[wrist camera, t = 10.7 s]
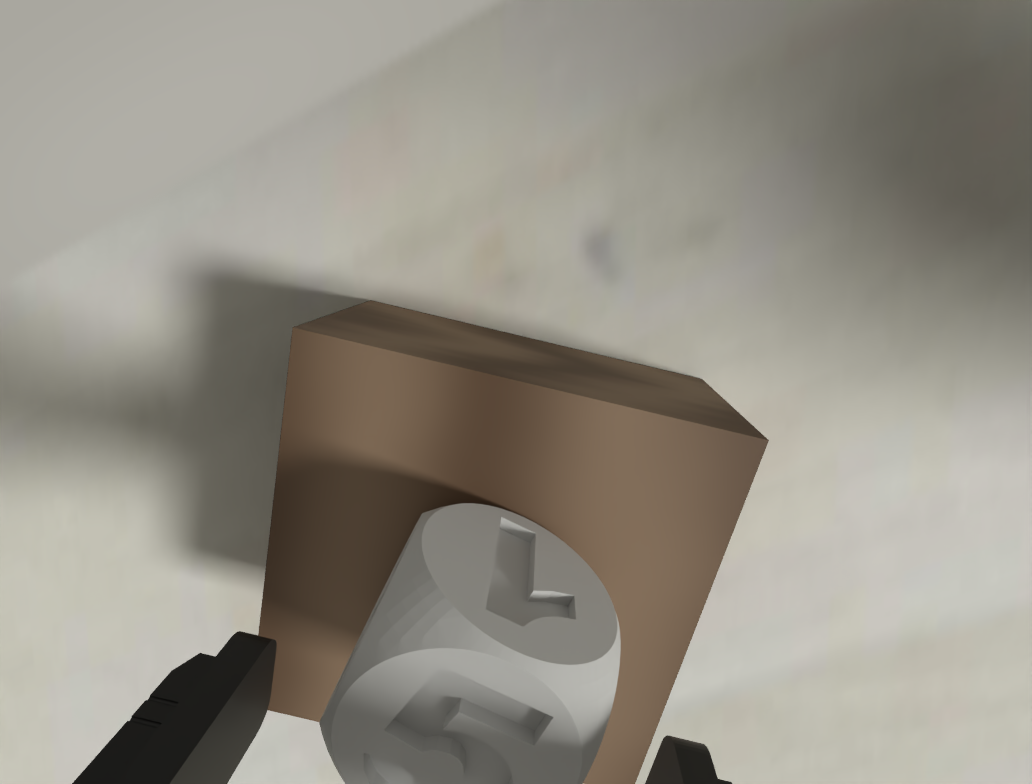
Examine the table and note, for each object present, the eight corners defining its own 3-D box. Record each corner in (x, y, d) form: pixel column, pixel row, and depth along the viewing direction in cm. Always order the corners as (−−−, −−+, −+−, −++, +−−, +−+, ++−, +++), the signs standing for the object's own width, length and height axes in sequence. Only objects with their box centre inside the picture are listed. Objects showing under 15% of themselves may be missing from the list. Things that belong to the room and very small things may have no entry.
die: (610, 556, 14) (640, 714, 10) (524, 687, 16) (514, 884, 11) (441, 474, 14) (385, 596, 9) (369, 616, 15) (287, 787, 11)
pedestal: (702, 379, 19) (768, 440, 13) (609, 651, 22) (630, 794, 17) (370, 300, 19) (293, 327, 13) (327, 585, 22) (250, 706, 17)
